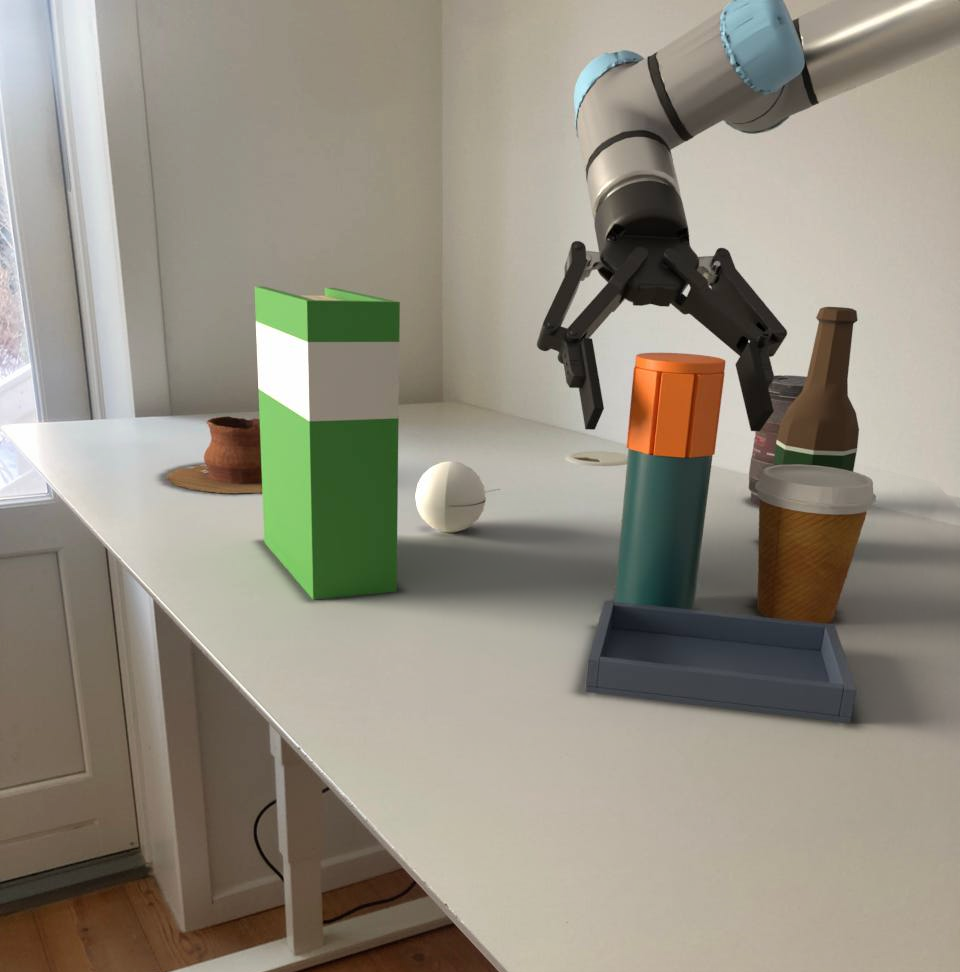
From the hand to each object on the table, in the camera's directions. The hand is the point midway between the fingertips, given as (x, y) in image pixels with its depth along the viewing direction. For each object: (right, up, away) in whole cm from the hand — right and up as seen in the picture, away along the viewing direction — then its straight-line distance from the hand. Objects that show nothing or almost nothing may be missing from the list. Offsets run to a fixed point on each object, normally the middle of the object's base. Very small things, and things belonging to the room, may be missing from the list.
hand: (679, 420), depth 79 cm
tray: (+2, -19, -4) cm, 20 cm away
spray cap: (0, -2, +2) cm, 3 cm away
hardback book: (-30, -10, +16) cm, 35 cm away
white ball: (-17, -5, +29) cm, 35 cm away
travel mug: (+21, -1, +45) cm, 50 cm away
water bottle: (-1, -15, +7) cm, 17 cm away
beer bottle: (+18, -8, +28) cm, 34 cm away
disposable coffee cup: (+12, -15, +9) cm, 21 cm away
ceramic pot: (-45, +3, +48) cm, 66 cm away
